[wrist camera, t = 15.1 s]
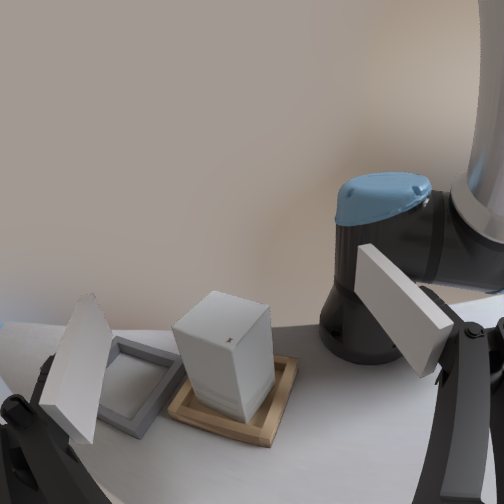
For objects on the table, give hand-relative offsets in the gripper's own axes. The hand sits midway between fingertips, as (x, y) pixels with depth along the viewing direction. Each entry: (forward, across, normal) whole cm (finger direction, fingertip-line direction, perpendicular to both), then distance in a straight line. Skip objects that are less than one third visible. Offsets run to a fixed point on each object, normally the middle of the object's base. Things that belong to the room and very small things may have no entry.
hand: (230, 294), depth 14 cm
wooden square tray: (+11, -1, -24) cm, 26 cm away
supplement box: (+11, -1, -23) cm, 26 cm away
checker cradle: (+15, -16, -23) cm, 32 cm away
